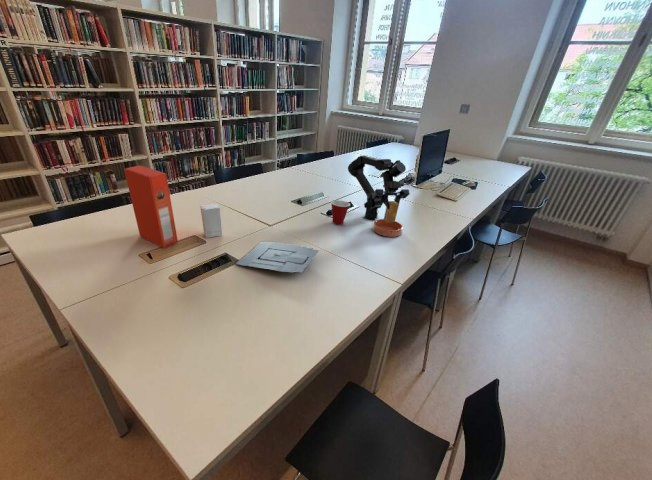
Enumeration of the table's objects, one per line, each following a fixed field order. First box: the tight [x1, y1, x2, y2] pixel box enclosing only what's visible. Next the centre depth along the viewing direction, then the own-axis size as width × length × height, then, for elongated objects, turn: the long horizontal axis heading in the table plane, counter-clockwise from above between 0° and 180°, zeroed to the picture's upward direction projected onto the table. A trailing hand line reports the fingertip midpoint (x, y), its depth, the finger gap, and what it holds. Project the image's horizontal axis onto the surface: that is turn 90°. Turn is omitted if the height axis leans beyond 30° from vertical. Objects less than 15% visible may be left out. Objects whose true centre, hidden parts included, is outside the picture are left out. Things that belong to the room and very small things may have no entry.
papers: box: [235, 240, 320, 274], centre depth 140 cm, size 24×30×4 cm
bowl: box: [372, 218, 403, 238], centre depth 174 cm, size 15×15×4 cm
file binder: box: [123, 165, 179, 249], centre depth 142 cm, size 8×17×32 cm, turn 56°
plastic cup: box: [330, 199, 351, 226], centre depth 177 cm, size 11×11×12 cm
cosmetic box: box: [199, 203, 223, 239], centre depth 154 cm, size 8×6×15 cm
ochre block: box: [383, 200, 400, 222], centre depth 169 cm, size 4×4×10 cm
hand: (393, 209), depth 166 cm, fingers closed on ochre block, 4 cm apart
